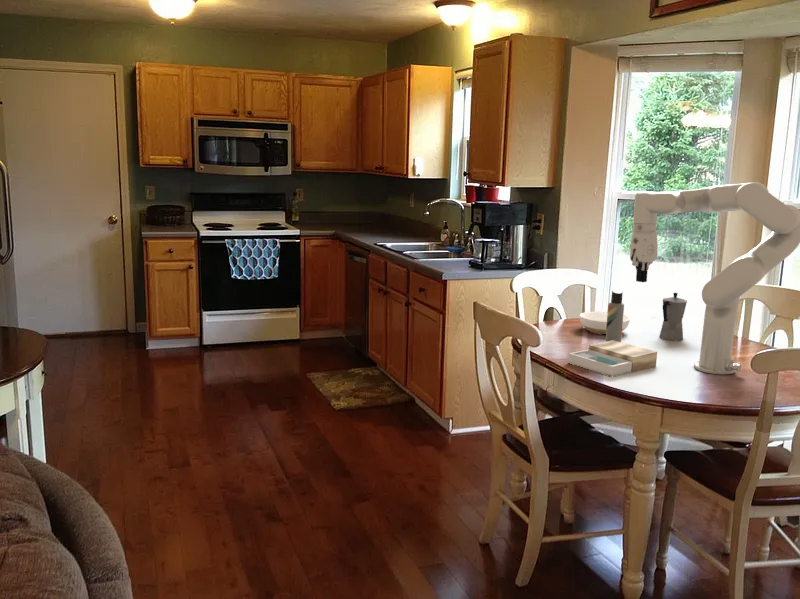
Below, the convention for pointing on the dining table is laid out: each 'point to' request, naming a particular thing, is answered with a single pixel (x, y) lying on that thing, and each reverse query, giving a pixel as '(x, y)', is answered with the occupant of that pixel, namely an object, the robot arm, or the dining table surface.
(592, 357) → the slate tile
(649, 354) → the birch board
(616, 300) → the lotion bottle
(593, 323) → the bowl
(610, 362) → the teal tile
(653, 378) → the dining table surface
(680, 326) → the coffeepot
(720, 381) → the dining table surface
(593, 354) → the box
